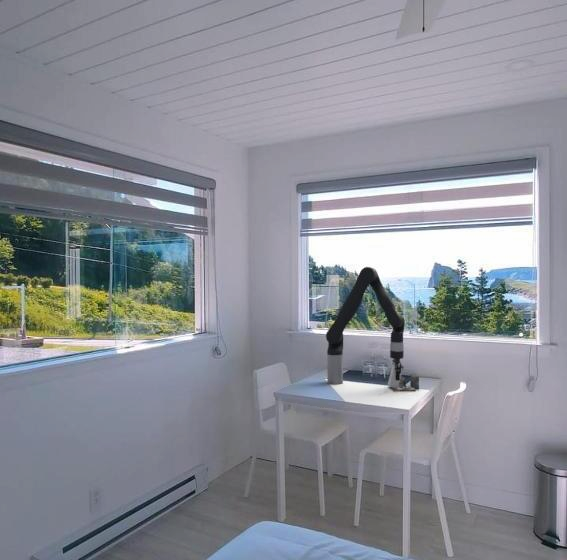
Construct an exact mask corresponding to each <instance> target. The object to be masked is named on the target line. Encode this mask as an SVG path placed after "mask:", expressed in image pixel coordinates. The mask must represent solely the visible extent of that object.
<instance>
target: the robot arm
mask: <svg viewBox="0 0 567 560" xmlns="http://www.w3.org/2000/svg"><path fill="white" fill-rule="evenodd" d="M369 286H370V287H371V289H372V291H373V292H374V295H375V296H376V299H377V302H378V303H379V305H380V307H381V308H382V310H383V312H384V314H385V317H386V320H387V322H388V323H389V324H390V326H391V327H392V331H391V332H390V345H389V356H390V359H391V360H392V366H393V365H394V367H395V373H396V380H400V381H401V379H400V373H401V365H402V361H401V359H404V355H405V354H404V348H405V347H404V330H405V323H406V320H405V317H404V316H403V315H402V314H398V312H397V310H396V305H395V303H394V302H393V300H392V298H391V297H390V296H389V294H388V293H387V290H386V289H385V287H384V286H383V283H382V282H381V279H380V276H379V273H378V272H377V270H376V268H373V267H371V266H365V267H363V268H362V269H361V270H360V272H359V274H358V275H357V278H356V281H355V283H354V284H353V287H352V289H351V290H350V291H349V294H348V295H347V297H346V298H345V300H344V302H343V303H342V306H341V307H340V310H339V311H338V313H337V316H336V318H335V320H334V322H333V323H332V324H331V326H330V327H329V328H328V330H327V331H326V333H325V334H326V335H325V338H326V339H325V340H326V341H327V343H328V346H327V349H326V352H327V353H326V354H327V355H326V356H327V358H326V361H327V362H326V363H327V365H326V369H327V371H326V372H327V373H326V376H327V377H326V379H327V380H326V381H327V384H331V385H340V384H343V383H344V382H343V381H344V377H343V375H344V371H343V369H344V368H343V367H344V366H343V359H344V357H343V356H344V355H343V354H344V353H343V351H344V331H345V329H346V328H347V326H348V324H349V323H350V322H351V320H353V318H354V317H355V315H356V313H357V312H358V310H359V309H360V307H361V306H362V305H361V304H362V302H363V298H364V294H365V292H366V291H367V288H368V287H369ZM395 364H396V366H395ZM397 370H399V371H397Z"/></svg>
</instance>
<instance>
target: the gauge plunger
mask: <svg viewBox="0 0 567 560" xmlns="http://www.w3.org/2000/svg"><path fill="white" fill-rule="evenodd" d="M400 381H402V384H400V385H401V386H402V388H405V389H407V388H408V387H407V383H406V381H407V380H406V378H405V377H404V376H401V379H400Z"/></svg>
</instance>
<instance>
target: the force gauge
mask: <svg viewBox="0 0 567 560" xmlns="http://www.w3.org/2000/svg"><path fill="white" fill-rule="evenodd" d="M395 366H396V364H395ZM404 367H405V366H404V365H402V364H401V373H400V380H396V373H395V367H394V365H393V364H392V368H391V371H390V374H389V378H388V382H387V386H389V387H391V388H399V385H401V384H402V381H401V377H402V375H403V372H404V371H403V370H404ZM397 371H399V370H397Z"/></svg>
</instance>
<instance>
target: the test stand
mask: <svg viewBox="0 0 567 560" xmlns="http://www.w3.org/2000/svg"><path fill="white" fill-rule="evenodd" d="M409 377H410V378H409V380H410V383H409V385H410V387H406V388H407V389H405V387H398V388H394V387H391V389H392V391H393V392H416V391H417V390H419V389H420V377H419V375H417V374H416V373H410V374H409Z"/></svg>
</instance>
